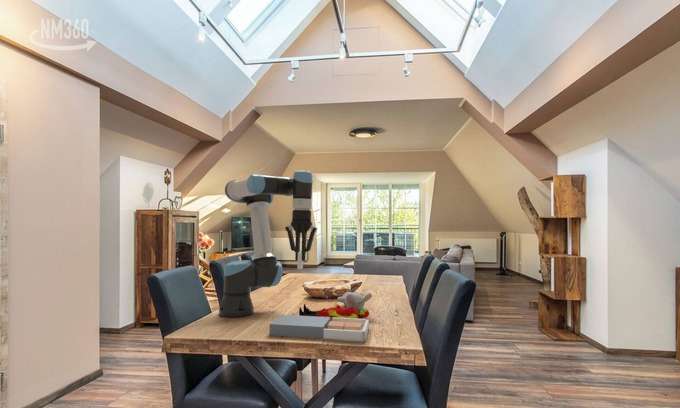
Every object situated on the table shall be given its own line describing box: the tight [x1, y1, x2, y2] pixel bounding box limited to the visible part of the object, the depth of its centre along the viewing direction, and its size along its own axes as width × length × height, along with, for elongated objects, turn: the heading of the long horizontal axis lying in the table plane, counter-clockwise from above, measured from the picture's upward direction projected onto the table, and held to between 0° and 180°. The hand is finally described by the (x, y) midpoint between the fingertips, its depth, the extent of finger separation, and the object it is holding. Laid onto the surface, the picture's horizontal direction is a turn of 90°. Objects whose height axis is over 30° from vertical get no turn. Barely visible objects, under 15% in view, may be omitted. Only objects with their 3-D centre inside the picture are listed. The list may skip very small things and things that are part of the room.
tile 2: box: [344, 322, 362, 331], centre depth 133 cm, size 6×6×3 cm
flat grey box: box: [268, 314, 332, 340], centre depth 136 cm, size 20×14×4 cm
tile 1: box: [327, 320, 346, 330], centre depth 134 cm, size 6×6×3 cm
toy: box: [336, 291, 373, 313], centre depth 168 cm, size 12×10×30 cm
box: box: [323, 317, 370, 343], centre depth 133 cm, size 14×17×4 cm
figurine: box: [298, 303, 370, 319], centre depth 156 cm, size 12×6×30 cm
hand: (300, 268), depth 143 cm, fingers closed
